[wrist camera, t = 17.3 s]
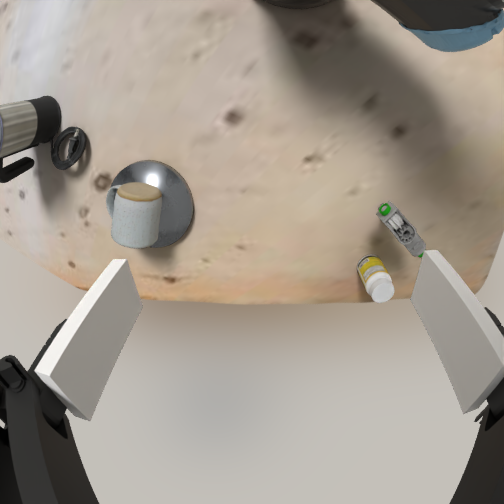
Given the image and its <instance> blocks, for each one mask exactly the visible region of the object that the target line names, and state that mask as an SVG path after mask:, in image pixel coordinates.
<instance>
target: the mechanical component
mask: <svg viewBox="0 0 504 504" xmlns="http://www.w3.org/2000/svg"><path fill="white" fill-rule="evenodd" d="M378 210H379V212H378V213H377V214H376V215H377V216H378V217H379V218H380V219H381V221H382V222H383V223H384V224H385V225H386V226H387V227H388V228H389V229H390V231H391V232H392V233H393V235H394V236H395V237H396V238H397V240H398V241H399V242H400V243H401V244H403V245H404V246H405V247H406V248H407V249H408V250H409V252H410V253H411V254H412V255H413V256H418V257H423V253H424V250H425V248H426V244H425V242H424V241H423V240H422V239H421V238H420V236H419V235H418V234H417V232H416V229H415V227H414V226H413V225H412V224H411V223H410V222H409V221H408V220H407V219H406V218H405V217H404V215H403V214H402V213H401V212H400V211H399V209H398V208H397V207H396V206H395V205H394V204H393V203H391V202H390V201H388V202H387V203H385V204H384V203H382V205H381V207H379V208H378Z"/></svg>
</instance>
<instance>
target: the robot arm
mask: <svg viewBox="0 0 504 504" xmlns="http://www.w3.org/2000/svg"><path fill="white" fill-rule="evenodd" d="M264 1H266V2H268V3H271V4H273V5H277V6H280V7H286V8H295V9H303V8H312V7H316V6H320V5H323V4H325V3H327V2H329V1H330V0H264ZM371 1H372V2H374V3H375V4H377V5H378V6H379V7H381V8H382V9H383V10H385V11H386V12H387V13H388V14H390V15H391V16H392V17H393V18H395V19H396V20H397V21H398V22H399V24H400V25H401V26H402V27H403V28H405V29H406V30H409V31H411V32H412V33H413V34H414V35H415V36H417V37H418V38H419V39H420V40H421V41H422V42H423V43H425V44H426V45H427V46H429V47H431V48H433V49H437V50H439V51H443V52H458V51H464V50H468V49H471V48H475V47H477V46H480V45H482V44H484V43H486V42H488V41H490V40H491V39H493V35H494V34H499V33H500V32H501V31H502V29H503V28H504V11H503V9H502V8H504V0H371ZM410 300H411V302H412V304H413V305H414V307H415V309H416V311H417V313H418V315H419V317H420V318H421V320H422V322H423V324H424V326H425V328H426V330H427V332H428V334H429V336H430V338H431V340H432V342H433V344H434V346H435V348H436V350H437V352H438V355H439V357H440V359H441V361H442V363H443V365H444V368H445V370H446V372H447V374H448V377H449V379H450V381H451V384H452V386H453V389H454V391H455V393H456V396H457V399H458V401H459V404H460V406H461V409H462V411H463V414H465V413H467V412H470V411H472V410H475V409H477V408H479V407H480V405H481V404H482V403H483V402H484V401H485V400H486V399H487V402H488V405H487V407H486V408H485V409H484V410H483V411H482V412H481V413H480V414H479V415H478V416H477V417H476V419H475V422H477V421H478V420H479V419H480V418H481V417H482V416H483V418H482V420H481V421H480V424H481V425H480V428H479V432H478V435H477V438H476V441H475V444H474V448H473V450H472V453H471V456H470V458H469V461H468V464H467V466H466V469H465V471H464V474H463V476H462V478H461V481H460V483H459V485H458V487H457V489H456V492H455V494H454V496H453V498H452V500H451V502H450V504H504V327H503V326H501V323H500V321H499V320H498V318H497V317H496V316H495V315H494V314H493V313H492V312H491V311H490V310H489V309H487V308H486V307H485V308H484V307H483V306H482V305H481V303H480V302H479V300H478V299H477V298H476V296H475V295H474V294H473V292H472V291H471V290H470V289H469V287H468V286H467V285H466V283H465V282H464V281H463V280H462V278H461V277H460V276H459V275H458V274H457V272H456V271H455V270H454V269H453V268H452V266H451V265H450V264H449V263H448V262H447V260H446V259H445V258H444V257H443V256H442V255H441V254H440V252H439V251H438V250H424V253H423V257H422V261H421V265H420V268H419V272H418V276H417V279H416V283H415V286H414V289H413V293H412V296H411V299H410ZM142 308H143V305H142V302H141V299H140V297H139V294H138V291H137V288H136V285H135V282H134V279H133V276H132V273H131V270H130V267H129V264H128V261H127V259H113V260H112V261H111V263H110V264H109V265H108V266H107V268H106V269H105V270H104V271H103V273H102V274H101V275H100V276H99V278H98V279H97V280H96V281H95V283H94V284H93V285H92V287H91V288H90V289H89V291H88V292H87V293H86V295H85V296H84V297H83V299H82V300H81V302H80V303H79V304H78V306H77V307H76V308H75V310H74V311H73V312H72V314H71V315H70V317H69V318H68V319H65V320H64V321H63V322H62V323H61V324H59V325H58V326H57V327H56V329H55V330H54V331H53V333H52V334H51V338H49V339H48V340H47V342H46V345H44V346H43V348H42V350H41V351H40V353H39V354H38V356H37V357H36V359H35V360H34V362H33V364H32V365H31V367H30V369H29V370H28V372H27V371H26V370H25V368H24V367H23V366H22V365H21V364H20V362H19V361H18V359H17V358H16V357H15V356H12V355H9V356H5V357H3V358H2V359H0V419H1V420H2V421H3V422H4V423H5V427H4V429H3V428H2V427H1V426H0V504H99V502H98V500H97V498H96V496H95V494H94V491H93V489H92V487H91V484H90V482H89V480H88V477H87V475H86V472H85V469H84V467H83V464H82V461H81V459H80V456H79V453H78V450H77V447H76V444H75V440H74V437H73V434H72V430H71V427H70V423H69V420H68V418H67V416H66V414H65V411H66V409H68V410H69V411H70V412H71V413H73V415H74V416H76V417H79V418H82V419H85V420H88V421H90V420H91V418H92V416H93V413H94V411H95V408H96V406H97V404H98V401H99V399H100V397H101V394H102V392H103V390H104V387H105V385H106V383H107V380H108V378H109V376H110V374H111V372H112V369H113V367H114V365H115V363H116V361H117V359H118V356H119V354H120V352H121V350H122V348H123V346H124V344H125V342H126V340H127V338H128V336H129V334H130V332H131V330H132V328H133V325H134V323H135V322H136V320H137V318H138V316H139V314H140V312H141V310H142Z"/></svg>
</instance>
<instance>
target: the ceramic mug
mask: <svg viewBox="0 0 504 504" xmlns="http://www.w3.org/2000/svg"><path fill="white" fill-rule="evenodd" d="M116 189H118V190H117V193H116ZM115 193H116V196H115ZM114 197H115V201H114ZM106 205H107V210H108V212H109V214H110V216H111V218H112V219H113V220H112V229H111V236H112V238H113V240H114V241H115V242H116V243H118V244H120V245H122V246H124V247H129V248H145V247H149V246H151V245H153V244H154V243H155V242H156V241H157V239H158V232H159V223H160V214H161V207H162V193H161V191H160V190H159V189H158V188H157V187H155V186H153V185H150V184H146V183H140V182H132V183H126V184H123V185H117V186H113V187H111V188H110V189H109V191H108V193H107V198H106Z"/></svg>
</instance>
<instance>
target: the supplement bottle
mask: <svg viewBox="0 0 504 504" xmlns="http://www.w3.org/2000/svg"><path fill="white" fill-rule="evenodd" d="M357 271H358V274H359V276H360V278H361V280H362V282H363V284H364V287H365V289H366V291H367V293H368V294H369V295H371V297H372V299H373V300H374V301H375V302H377V303H383V302H386V301H388V300H389V299H390V298H391V297H392V296H393V294H394V286H393V284H392V279H391V277H390V275H389V273H388V272H387V270H386V268H385V267H384V265H383V263H382V262H381V260H380V259H379V257H378V256H376V255H366V256H364V257H363V258H361V260H360V261H359V262H358V265H357Z"/></svg>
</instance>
